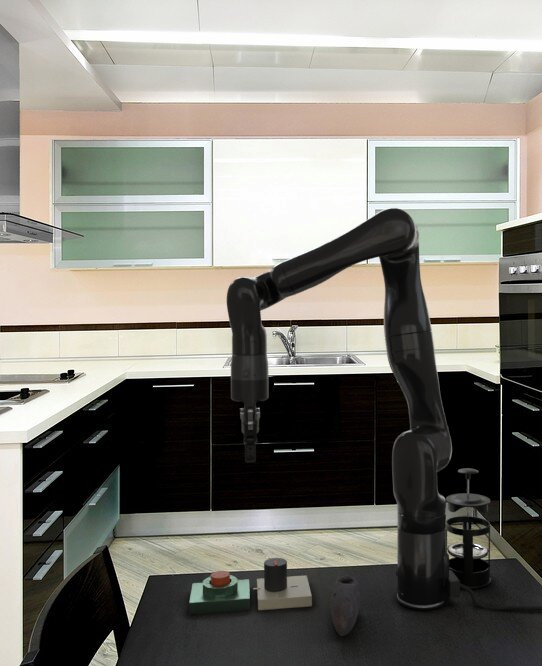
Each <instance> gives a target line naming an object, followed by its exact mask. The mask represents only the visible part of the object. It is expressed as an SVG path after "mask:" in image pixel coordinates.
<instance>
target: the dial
mask: <svg viewBox="0 0 542 666" xmlns="http://www.w3.org/2000/svg"><path fill="white" fill-rule="evenodd" d="M287 577H288V561H287V560H286V559H285V558H282V557H272V558H268V559H266V560H264V562H263V578H264V589H265V590H267V591H270V592H279V591H283V590H285V589H286V588H287Z"/></svg>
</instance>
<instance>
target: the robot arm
mask: <svg viewBox="0 0 542 666" xmlns="http://www.w3.org/2000/svg"><path fill="white" fill-rule="evenodd" d="M376 258H378V259H379V263H380V267H381V272H382V277H383V284H384V305H383V307H384V308H383V335H384V343H385V351H386V357H387V361H388V365H389V368H390V369H391V372H392V374H393V376H394V378H395V380H396V382H397V384H398V386H399V387H400V389H401V392H402V393H403V396H404V398H405V401H406V406H407V411H408V418H409V430H406V431H403V432H402V433H401V434H400V435H398V436H397V438H395V441H394V442H393V446H392V452H391V470H392V471H391V472H392V473H391V475H392V492H393V496H394V499H395V500H396V506H397V508H396V509H397V510H396V511H397V554H396V555H397V558H396V559H397V561H396V562H397V563H396V564H397V569H396V571H395V577H396V578H397V580H396V581H397V582H396V584H397V585H396V586H397V587H396V592H397V593H396V600H397V602H398V603H399V604H400V605H401V606H403V607H405V608H408V609H412V610H419V611H431V610H435V609H439V608H441V607H443V606H446V605H447V606H448V605H450V599H451V598H452V599H454V598H461V590H464V591H466V592H467V593H469V595H470V597H471V601H472V603H473V604H474V605H475V606H477V607H478V608H481V609H485V610H493V611H542V605H500V606H497V605H496V606H493V605H492V606H491V605H486V604H483V603H482V602H480V601H478V599H477V598H476V594H475V592H474V590H471V589H470V588H468V587H467V586H465V585H463V584H460V581H459V579H458V578H457V577H456V576H455V574H454V573H453V572H452V571H451V570H449V559H450V554H449V553H448V551H447V552H446V520H447V501H446V498H445V496H444V495H443V494H441V493H439V491H438V490H439V489H438V473H439V472H440V471H442V470H443V469H445V468H446V467H447V466H448V464H449V463H450V461H451V459H452V453H453V446H452V445H453V444H452V439H451V435H450V431H449V426H448V423H447V419H446V414H445V411H444V406H443V401H442V396H441V390H440V381H439V374H438V373H439V372H438V368H437V367H438V366H437V361H436V349H435V343H434V342H435V341H434V336H433V329H432V324H431V323H432V322H431V318H430V313H429V308H428V304H427V300H426V295H425V292H424V287H423V284H422V278H421V264H420V263H421V262H420V261H421V260H420V231H419V229H418V225H417V223H416V222H415V220H414V219H413V218H412V216H411V215H410V214H409V213H408V212H406V210H404V209H401V208H398V207H389V208H384V209H382V210H380V211H379V212H377V213H375V214H374V215H372V216H371V217H369V218H367V219H366V220H365V221H363V222H361V223H360V224H358V225H357V226H355V227H353V228H351V229H350V230H348V231H347V232H345V233H343V234H341V235H339V236H338V237H336V238H333V239H331V240H330V241H327V242H325V243H322V244H320V245H318V246H316V247H314V248H311V249H309V250H307V251H304V252H301V253H299V254H297V255H295V256H292V257H289V258H288V259H287V258H286V259H285V260H283V261H281V262H278V263H277V264H275V265H274V266H272V268H271V269H270V270H268V271H266V272H263V273H261V274H259V275H257V276H253V277H249V276H241V277H237V278H235V279H233V281H231V282H230V284H229V285H228V288H227V292H226V311H227V315H228V321H229V326H230V329H231V361H230V399H231V400H232V401H234V402H237V403H238V402H239V403H240V402H241V403H243V404H244V405H243V407H242V408H239V418H240V420H241V433H242V434H243V435H242V436H243V444H244V462H245V463H247V464H248V463H249V464H250V463H256V461H257V443H258V435H257V434H258V433H259V432H260V419H261V409H260V407H257V405H256V404H257V403H258V402H265V401H267V400H268V399H269V397H270V396H269V395H270V393H269V391H270V390H269V385H270V383H269V382H270V381H269V360H268V334H267V329H266V328H265V326H264V325H263V324H262V314H261V313H262V312H261V311H263V310H266V309H269V308H270V307H272V306H274V305H276V304H278V303H280V302H281V301H283V300H285V299H287V298H289V297H292V296H296V295H297V294H300V293H303V292H305V291H307V290H310V289H312V288H315V287H317V286H319V285H321V284H323V283H325V282H327V281H328V280H330V279H331V278H333V277H334V276H337V275H338V274H339V273H341V272H343V271H345V270H347V269H349V268H350V267H353V266H354V265H356V264H359V263H362V262H365V261H369V260H372V259H376ZM461 588H462V589H461Z"/></svg>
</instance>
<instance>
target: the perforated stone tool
mask: <svg viewBox="0 0 542 666" xmlns="http://www.w3.org/2000/svg"><path fill="white" fill-rule="evenodd" d="M359 586H360V583H359V580H358V577H357V576H356V574H355V573H354V572H351V571H346V570H344V571H341V572H339V574H338V575H337V577H336V579H335V581H334V584H333V587H332V591H331V595H330V616H331V621H332V624H333V627H334V629H335V631H336V633H337V634H338V635H339V636H340V637H345V636H347V635H348V634H350V632H351V631H352V630H353V629H354V626H355V624H356V622H357V619H358V615H359V611H360V602H361V593H360V591H359V589H360V588H359Z"/></svg>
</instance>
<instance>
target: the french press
mask: <svg viewBox="0 0 542 666" xmlns="http://www.w3.org/2000/svg"><path fill="white" fill-rule="evenodd" d="M457 473H459V474H462V475H465V480H466V493H465V492H464V493H463V492H462V493H454V494H453V493H452V494H450V495H448V496H446V498H445V500H446V503H447V510H448V511H449V512H451V513H456V512H458V511H459V510H461V509H464V508H466V514H462V515H459V516H453V517H449V518H447V519H446V552H447V553H448V554H449V556H452V557H451V558H449V570H451V571H452V572H453V573H454V574H455V576H456V577H457V578H458V579H459V581H460V584H463V585H465V586H467V587H468V588H470V589H471V590H472V591H474V590H481V589H485V588H487V587H488V586H490V585H491V583H492V578H491V523H490V521H489V520H487V519H486V518H483V517H478V516H472V515H471V514H470V508H473V509H475V510H476V511H477V512H480V513H481V514H487V513H488V512H489V504H490V503H491V499H490V498H489V497H488V496H485V495H483V494H482V495H481V494H477V493H470V480H471V475H477V474H478V473H479V470H477V469H475V468H469V467H467V468H466V467H465V468H460V469H458V470H457ZM460 523H462V528H459V527H455V526H452V525H453V524H460ZM472 524H477V525H481V526H484V527H483V528H476V529H472ZM448 532H449V533H451V534H453V535H456V536H461V537H462V542H455V543H452V544H450V545H448ZM485 535H488V539H487V540H488V541H487V542H488V543H487V545H488V548H487V546H484V545H483V544H479V543H474V537H481V536H485ZM487 556H488V557H487ZM486 557H487V559H488V561H487V560H485V559H484V558H486ZM460 590H463V589H462V588H460Z"/></svg>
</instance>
